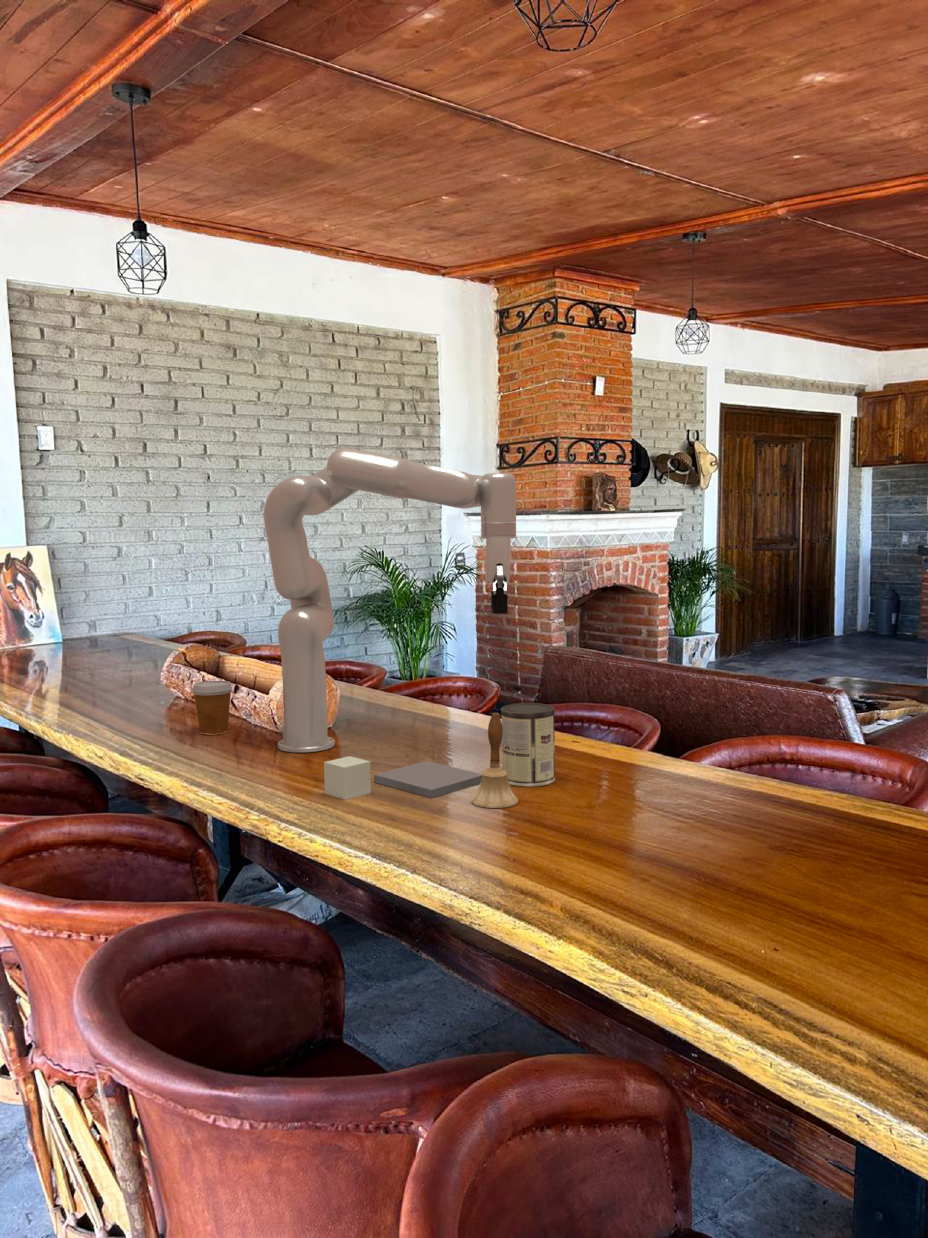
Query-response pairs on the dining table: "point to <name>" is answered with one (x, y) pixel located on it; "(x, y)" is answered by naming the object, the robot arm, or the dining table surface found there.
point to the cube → (347, 777)
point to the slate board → (428, 779)
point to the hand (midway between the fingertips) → (499, 611)
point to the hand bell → (495, 774)
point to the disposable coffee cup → (212, 705)
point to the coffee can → (528, 744)
